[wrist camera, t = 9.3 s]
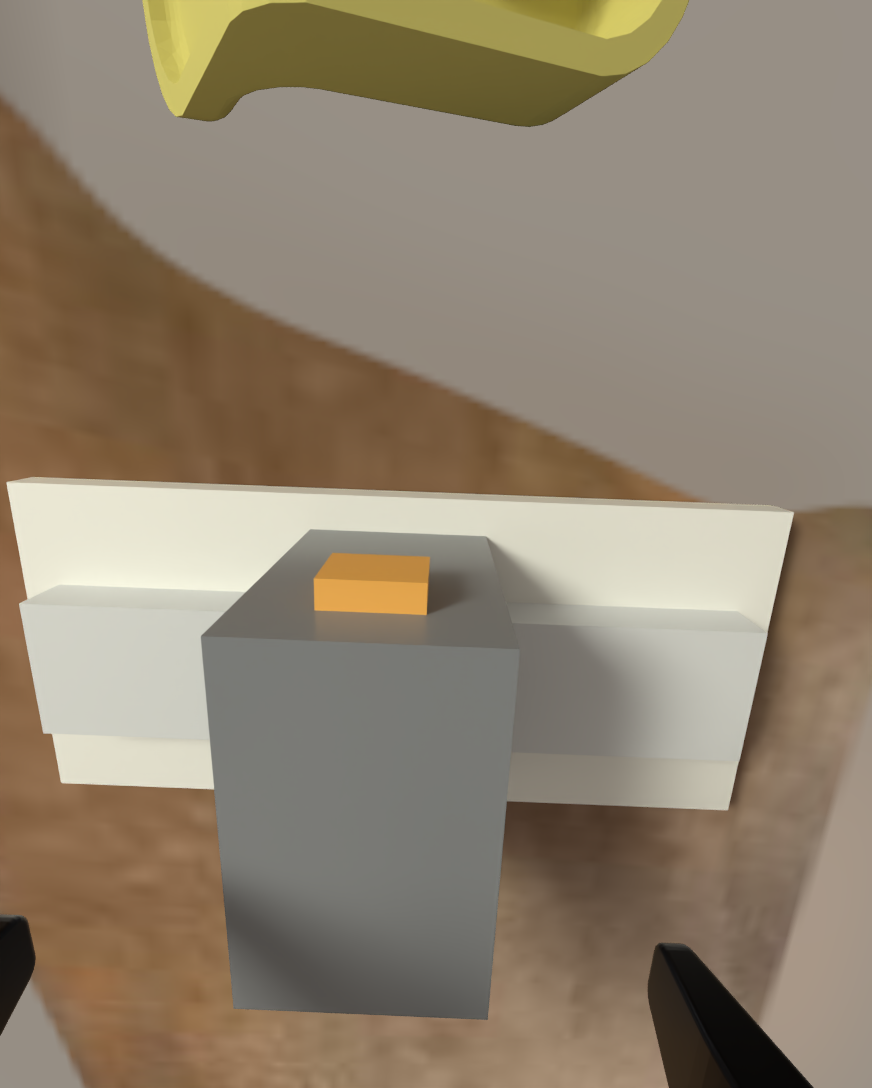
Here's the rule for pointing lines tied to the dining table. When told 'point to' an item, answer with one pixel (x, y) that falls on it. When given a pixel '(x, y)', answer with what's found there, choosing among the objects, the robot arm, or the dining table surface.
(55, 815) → the dining table surface
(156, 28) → the plastic component
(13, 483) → the rail plate
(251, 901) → the din module
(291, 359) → the dining table surface
